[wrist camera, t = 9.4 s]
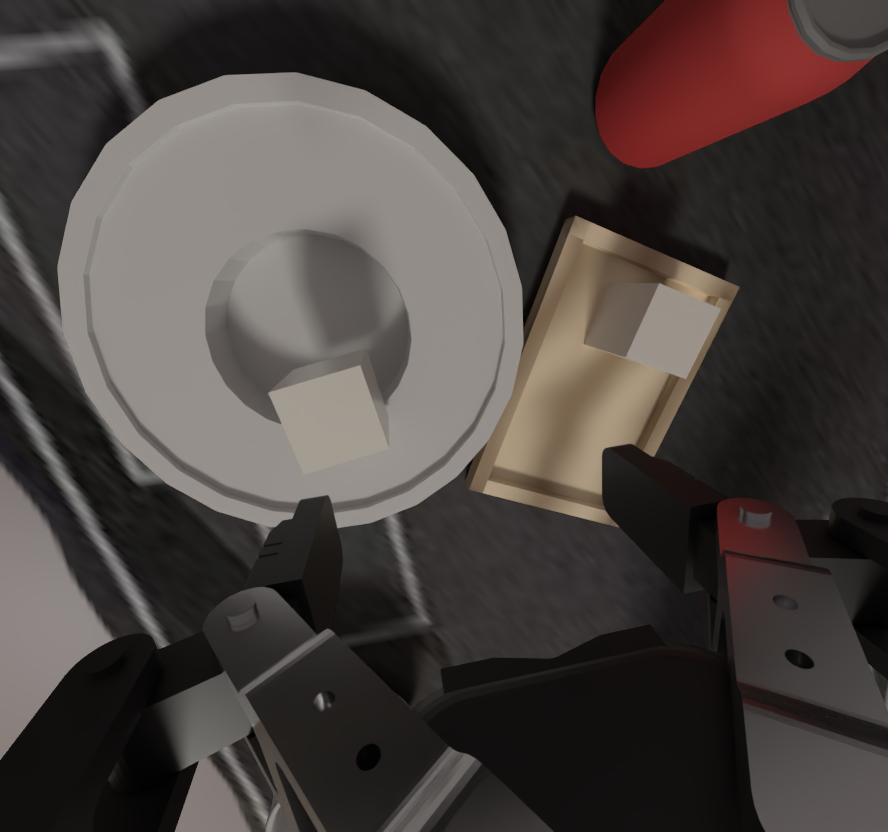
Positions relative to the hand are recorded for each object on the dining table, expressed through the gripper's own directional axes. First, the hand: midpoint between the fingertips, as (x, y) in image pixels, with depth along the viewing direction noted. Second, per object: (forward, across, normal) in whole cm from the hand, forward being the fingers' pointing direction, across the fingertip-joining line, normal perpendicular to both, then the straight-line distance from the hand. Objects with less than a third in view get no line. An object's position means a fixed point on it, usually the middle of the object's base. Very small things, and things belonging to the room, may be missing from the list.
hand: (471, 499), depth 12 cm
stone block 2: (+15, -13, -2) cm, 20 cm away
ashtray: (+16, +6, -4) cm, 18 cm away
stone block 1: (+12, +5, -1) cm, 13 cm away
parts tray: (+16, -11, +2) cm, 19 cm away
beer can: (+16, -15, -14) cm, 26 cm away
